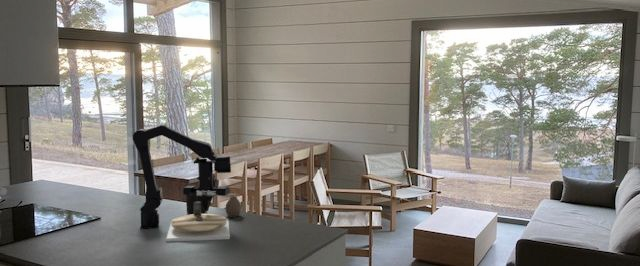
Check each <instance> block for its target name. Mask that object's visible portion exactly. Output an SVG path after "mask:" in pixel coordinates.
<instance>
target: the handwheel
mask: <svg viewBox="0 0 640 266" xmlns="http://www.w3.org/2000/svg"><path fill="white" fill-rule="evenodd" d="M226 220H227V218H226V217H225V216H223V215H219V214H215V213H214V214H213V213H204V214H201V202H194V214H186V215H181V216H178V217H175V218H174V219H172V220H171V222H172V227H173V228H175V229H178V230H183V231H207V230H213V229H217V228H220V227H223V226H224V225H226Z"/></svg>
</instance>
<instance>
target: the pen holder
mask: <svg viewBox="0 0 640 266" xmlns="http://www.w3.org/2000/svg"><path fill="white" fill-rule="evenodd" d="M196 195H197V193H196V192H191V194H190V195H185V199H186V203H185V204H186V213H187V215H191V214H194V202H201V201H200V200H199V198H198V197H196ZM207 212H208V211H206V210H205V208H204V206H203V205H202V203H201V214H207Z"/></svg>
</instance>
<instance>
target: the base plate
mask: <svg viewBox="0 0 640 266" xmlns="http://www.w3.org/2000/svg"><path fill="white" fill-rule="evenodd" d="M230 238H231V237H230V223H229V219H226V225H224V226H223V227H220V228H217V229H213V230H207V231H183V230H178V229H175V228H173V227H172V221H171V222H170V225H169V228H168V232H167V235H166V238H165V239H166V243H167V242H189V241H190V242H191V241H210V240H211V241H214V240H230Z"/></svg>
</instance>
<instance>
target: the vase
mask: <svg viewBox="0 0 640 266" xmlns="http://www.w3.org/2000/svg"><path fill="white" fill-rule="evenodd" d="M225 213H226V215H227V216H228V217H229V218H235V217H236V218H237V217H238V216H239V215H240V214H241V213H242V204H241V201H240V200H239V199H238V197H237V196H236V195H231V196H230V198H229V199H228V201H227V202H226V204H225Z"/></svg>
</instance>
